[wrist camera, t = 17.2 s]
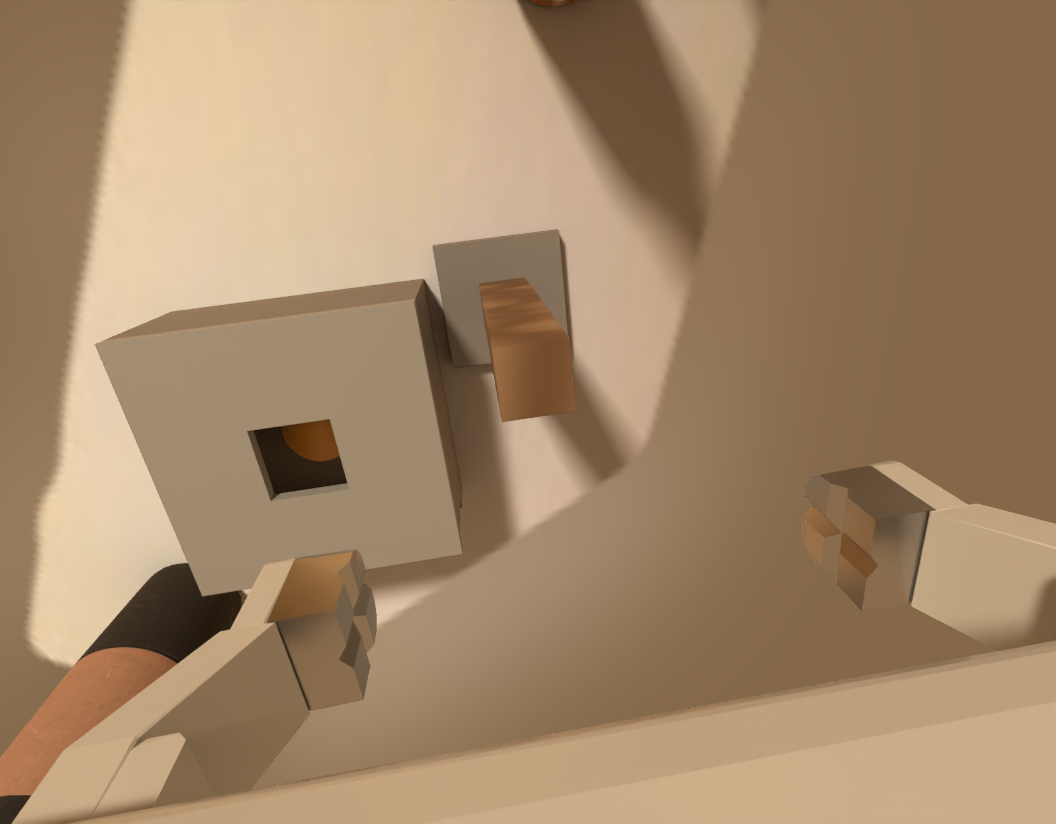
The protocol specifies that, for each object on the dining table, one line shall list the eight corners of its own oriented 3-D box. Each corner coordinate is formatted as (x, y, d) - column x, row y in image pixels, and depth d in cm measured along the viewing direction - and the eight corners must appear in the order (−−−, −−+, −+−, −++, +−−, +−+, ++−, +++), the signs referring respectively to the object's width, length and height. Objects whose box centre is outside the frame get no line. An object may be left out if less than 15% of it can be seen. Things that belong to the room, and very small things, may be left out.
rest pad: (556, 229, 36) (558, 230, 35) (566, 347, 39) (569, 351, 38) (433, 245, 35) (432, 246, 34) (453, 363, 38) (453, 368, 37)
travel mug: (214, 652, 45) (44, 971, 27) (121, 610, 43) (-136, 929, 24) (264, 590, 44) (121, 884, 25) (170, 542, 41) (-65, 829, 23)
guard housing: (423, 278, 36) (413, 301, 29) (462, 490, 42) (462, 553, 35) (171, 311, 35) (94, 344, 28) (248, 523, 41) (202, 596, 34)
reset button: (351, 380, 37) (344, 393, 35) (366, 439, 39) (360, 455, 36) (284, 390, 37) (272, 403, 34) (302, 449, 38) (292, 465, 36)
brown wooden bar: (524, 277, 36) (570, 338, 21) (529, 322, 37) (576, 411, 22) (478, 283, 36) (491, 349, 21) (485, 328, 37) (502, 422, 22)
